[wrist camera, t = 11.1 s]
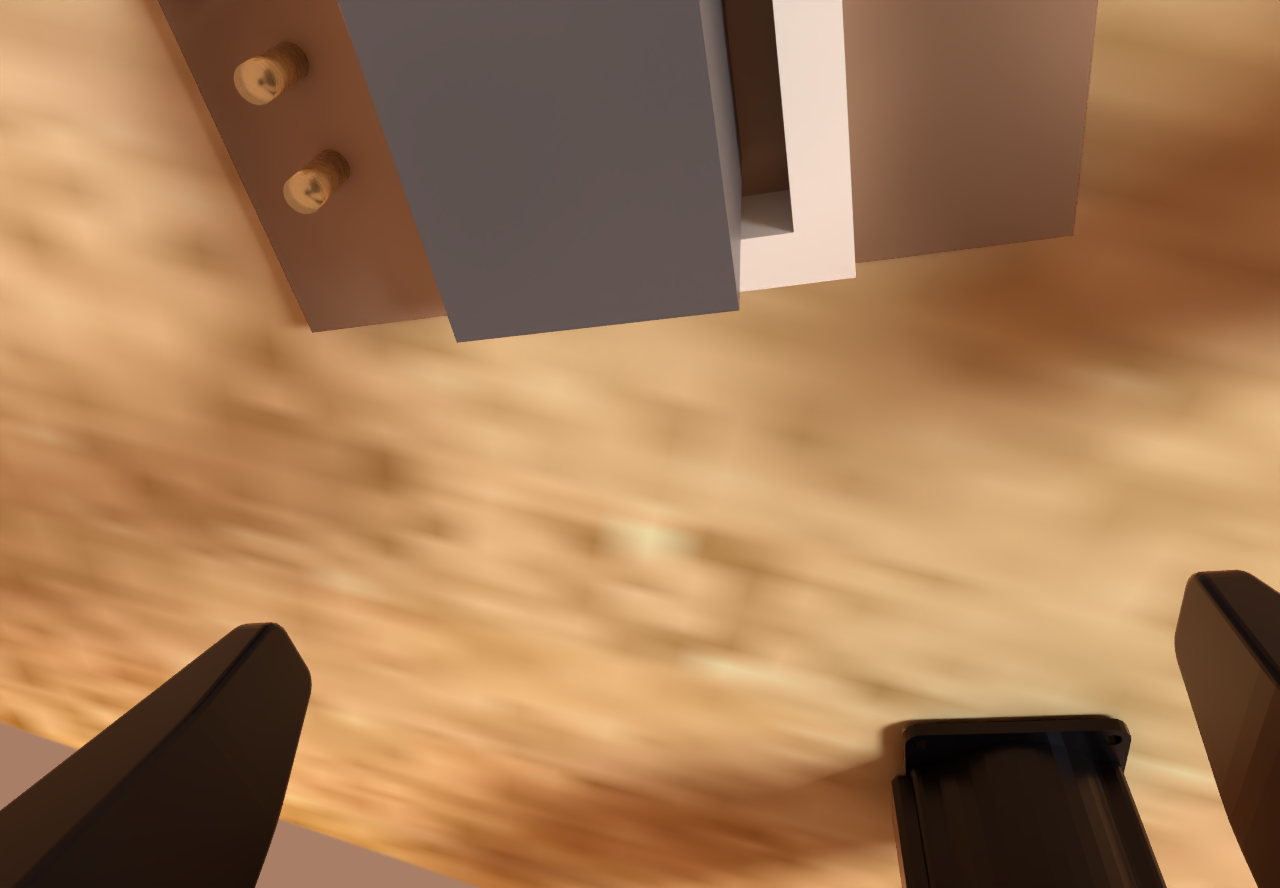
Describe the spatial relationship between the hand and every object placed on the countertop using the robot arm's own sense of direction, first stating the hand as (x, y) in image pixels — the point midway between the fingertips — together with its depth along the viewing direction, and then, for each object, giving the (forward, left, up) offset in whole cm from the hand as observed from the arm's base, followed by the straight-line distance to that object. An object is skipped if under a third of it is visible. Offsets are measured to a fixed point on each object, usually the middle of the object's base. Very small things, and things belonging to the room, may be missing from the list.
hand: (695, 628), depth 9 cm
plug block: (+1, -4, -11) cm, 11 cm away
